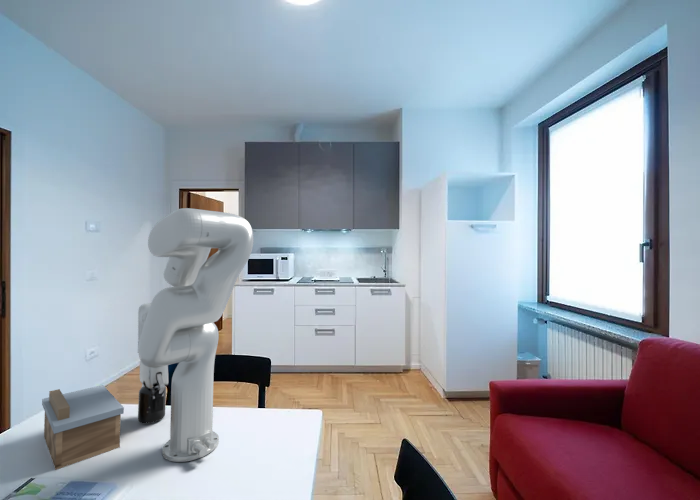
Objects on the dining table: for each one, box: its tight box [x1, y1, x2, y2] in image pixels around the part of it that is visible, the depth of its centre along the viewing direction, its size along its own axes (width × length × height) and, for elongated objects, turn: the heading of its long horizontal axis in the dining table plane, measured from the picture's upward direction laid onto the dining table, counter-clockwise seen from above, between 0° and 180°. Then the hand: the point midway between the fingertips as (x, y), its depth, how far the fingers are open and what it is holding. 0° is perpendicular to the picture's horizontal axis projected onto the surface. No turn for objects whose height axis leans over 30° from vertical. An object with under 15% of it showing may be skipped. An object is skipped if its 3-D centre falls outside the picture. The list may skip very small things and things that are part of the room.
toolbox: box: [43, 412, 122, 471], centre depth 84 cm, size 20×12×8 cm, turn 48°
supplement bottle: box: [137, 381, 167, 424], centre depth 96 cm, size 7×7×12 cm
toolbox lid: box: [41, 384, 125, 434], centre depth 84 cm, size 21×13×4 cm, turn 48°
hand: (152, 407), depth 96 cm, fingers closed on supplement bottle, 6 cm apart
